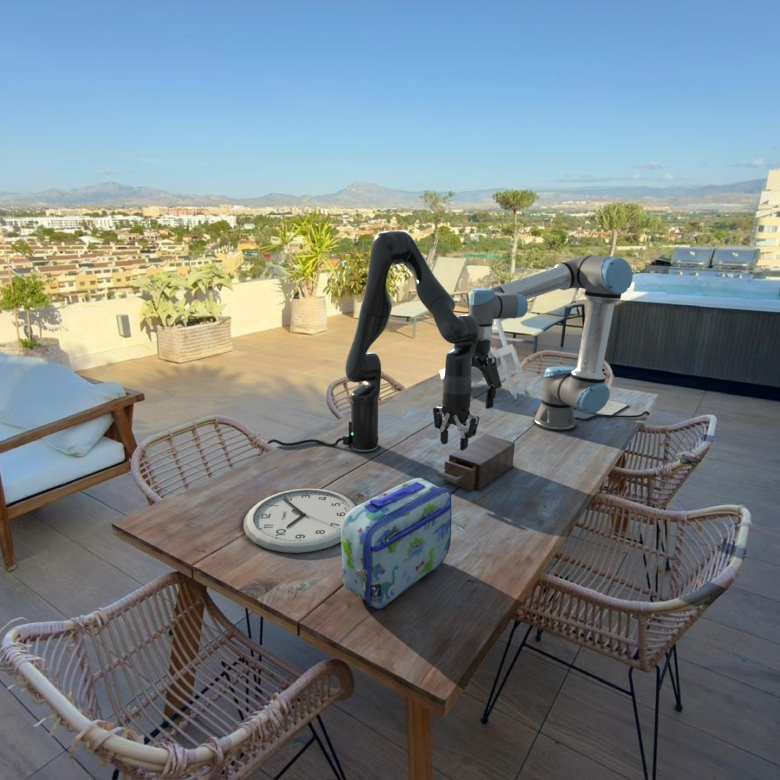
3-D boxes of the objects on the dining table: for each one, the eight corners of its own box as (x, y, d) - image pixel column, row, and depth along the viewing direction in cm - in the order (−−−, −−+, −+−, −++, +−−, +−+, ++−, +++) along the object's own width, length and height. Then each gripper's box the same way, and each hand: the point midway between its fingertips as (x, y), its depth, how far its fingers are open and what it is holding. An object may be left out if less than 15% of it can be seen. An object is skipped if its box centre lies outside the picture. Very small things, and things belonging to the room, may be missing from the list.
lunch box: (370, 622, 101) (370, 527, 94) (335, 595, 108) (333, 505, 102) (455, 565, 118) (460, 481, 112) (420, 544, 125) (423, 465, 119)
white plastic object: (461, 429, 252) (437, 405, 227) (444, 352, 274) (420, 323, 250) (535, 404, 240) (518, 377, 215) (510, 326, 262) (492, 293, 237)
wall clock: (362, 544, 122) (232, 548, 120) (362, 550, 123) (232, 555, 120) (359, 484, 151) (253, 486, 148) (359, 489, 151) (253, 492, 149)
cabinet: (478, 490, 152) (480, 464, 150) (447, 479, 159) (449, 454, 156) (512, 466, 168) (515, 442, 166) (483, 456, 175) (485, 434, 172)
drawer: (459, 498, 146) (461, 478, 144) (432, 487, 151) (433, 468, 150) (504, 467, 165) (506, 449, 163) (478, 458, 171) (480, 441, 169)
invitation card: (608, 416, 214) (573, 407, 224) (608, 416, 214) (573, 408, 224) (628, 404, 229) (594, 396, 238) (628, 405, 229) (594, 397, 238)
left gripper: (427, 386, 143) (425, 443, 148) (472, 397, 134) (468, 458, 140) (442, 381, 149) (440, 436, 154) (487, 391, 140) (482, 449, 145)
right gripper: (443, 332, 173) (440, 393, 179) (499, 347, 153) (493, 415, 159) (460, 330, 177) (457, 390, 183) (517, 344, 157) (510, 410, 164)
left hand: (453, 446), depth 147 cm, fingers open, 5 cm apart
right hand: (474, 402), depth 171 cm, fingers open, 13 cm apart
